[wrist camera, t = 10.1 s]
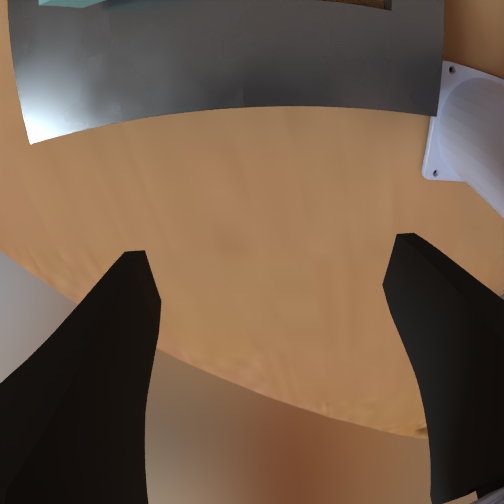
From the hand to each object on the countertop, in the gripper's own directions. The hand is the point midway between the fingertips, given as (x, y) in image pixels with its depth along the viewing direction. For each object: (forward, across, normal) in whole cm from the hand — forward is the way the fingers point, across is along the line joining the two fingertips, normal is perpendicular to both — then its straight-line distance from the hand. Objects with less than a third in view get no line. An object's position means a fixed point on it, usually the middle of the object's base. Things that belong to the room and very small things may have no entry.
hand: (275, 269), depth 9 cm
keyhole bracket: (+10, +1, -11) cm, 15 cm away
